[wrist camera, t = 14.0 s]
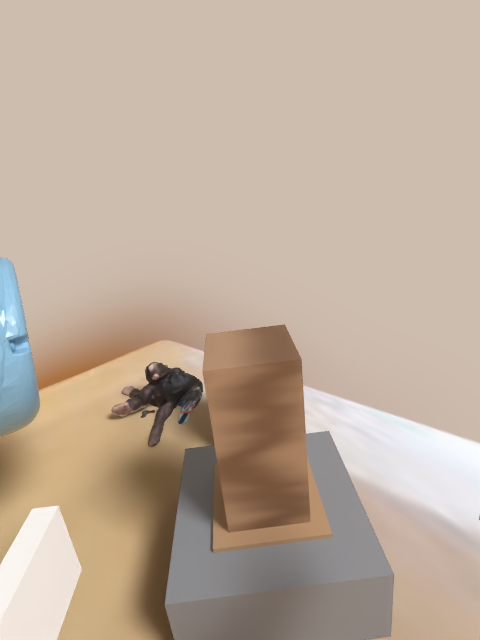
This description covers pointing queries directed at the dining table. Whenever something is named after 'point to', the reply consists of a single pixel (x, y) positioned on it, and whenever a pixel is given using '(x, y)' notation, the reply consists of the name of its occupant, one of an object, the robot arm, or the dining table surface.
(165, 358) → the dining table surface
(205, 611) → the base block
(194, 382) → the stuffed animal
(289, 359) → the walnut block
